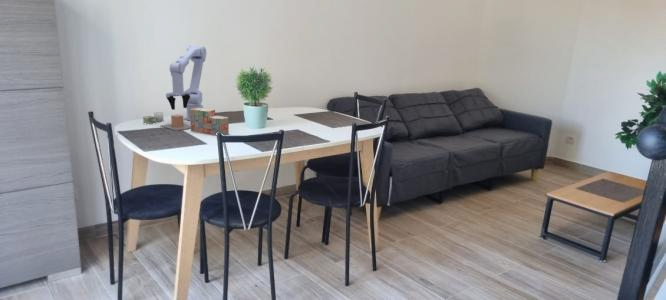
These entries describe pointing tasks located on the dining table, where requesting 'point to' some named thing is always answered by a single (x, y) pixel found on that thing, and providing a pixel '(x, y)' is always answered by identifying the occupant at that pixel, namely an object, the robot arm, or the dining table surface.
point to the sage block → (149, 119)
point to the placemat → (177, 127)
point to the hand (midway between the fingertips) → (179, 108)
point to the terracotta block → (177, 120)
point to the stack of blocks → (208, 122)
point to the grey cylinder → (159, 116)
